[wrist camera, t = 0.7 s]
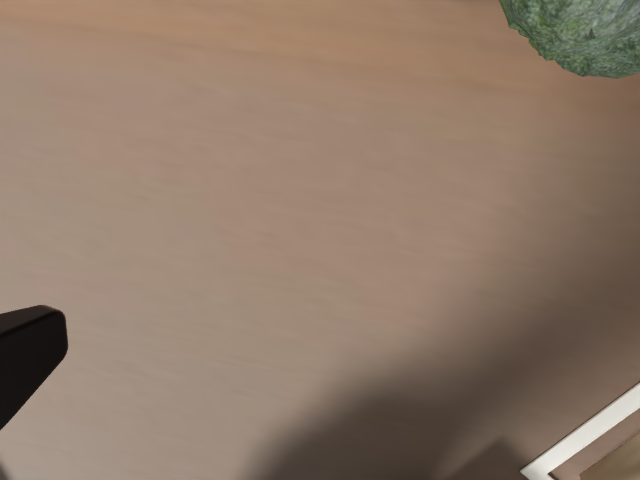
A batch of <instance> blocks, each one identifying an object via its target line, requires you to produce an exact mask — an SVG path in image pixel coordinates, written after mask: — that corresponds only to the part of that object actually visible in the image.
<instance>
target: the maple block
mask: <svg viewBox="0 0 640 480" xmlns="http://www.w3.org/2000/svg"><path fill="white" fill-rule="evenodd" d="M580 478H581V480H640V433H639V434H637V435H636V436H635V437H633V438H632V439H630V440H629V441H627V442H626V443H624V444H623V445H622V446H620V447H619V448H617V449H616V450H614V451H613V452H611V453H610V454H609V455H607V456H606V457H604V458H603V459H601V460H600V461H598V462H597V463H596V464H594V465H593V466H591V467H590V468H588V469H587V470H585V471H584V472H582V473H581V474H580Z"/></svg>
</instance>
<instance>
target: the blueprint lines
mask: <svg viewBox="0 0 640 480" xmlns="http://www.w3.org/2000/svg"><path fill="white" fill-rule="evenodd" d="M638 408H640V382H639V383H638V384H637V385H635V386H634V387H633V388H631V389H630V390H629V391H627V392H626V393H624V394H623V395H622V396H620V397H619V398H618V399H616V400H615V401H614V402H612V403H611V404H610V405H608V406H607V407H606V408H604V409H603V410H601V411H600V412H599V413H597V414H596V415H595V416H593V417H592V418H591V419H589V420H588V421H587V422H585V423H584V424H583V425H581V426H580V427H578V428H577V429H576V430H574V431H573V432H572V433H570V434H569V435H568V436H566V437H565V438H564V439H562V440H561V441H560V442H558V443H557V444H555V445H554V446H553V447H551V448H550V449H549V450H547V451H546V452H545V453H543V454H542V455H541V456H539V457H538V458H537V459H535V460H534V461H532V462H531V463H530V464H528V465H527V466H526V467H524V468H523V469H522V470H520V472H521V473H522V474H523V475H524V476H526V477H527V478H528V479H529V480H554V479H553V478H552V477H551V476H550V475H548V473H549V472H550V471H552V470H553V469H555V468H556V467H557V466H559V465H560V464H562V463H563V462H564V461H566V460H567V459H569V458H570V457H571V456H573V455H574V454H576V453H577V452H578V451H580V450H581V449H583V448H584V447H585V446H587V445H588V444H590V443H591V442H592V441H594V440H595V439H597V438H598V437H599V436H601V435H602V434H603V433H605V432H606V431H608V430H609V429H610V428H612V427H613V426H615V425H616V424H617V423H619V422H620V421H622V420H623V419H624V418H626V417H627V416H629V415H630V414H631V413H633V412H634V411H636V410H637V409H638Z"/></svg>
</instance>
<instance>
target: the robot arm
mask: <svg viewBox="0 0 640 480" xmlns="http://www.w3.org/2000/svg"><path fill="white" fill-rule="evenodd" d="M67 350H68V338H67V328H66V318H65V315H64V314H63V312H61V311H60V310H57V309H55V308H52V307H49V306H46V305H37V306H33V307H29V308H24V309H20V310H15V311H11V312H7V313H2V314H0V430H1V429H2V428H3V427H4V426H5V425H6V424H7V423H8V422H9V421H10V420H11V419H12V417H13V416H14V415H15V414H16V413H17V412H18V411H19V409H20V408H21V407H22V406H23V405H24V404H25V403H26V401H27V400H28V399H29V398H30V397H31V396H32V395H33V393H34V392H35V391H36V390H37V389H38V388H39V386H40V385H41V384H42V383H43V382H44V381H45V380H46V378H47V377H48V376H49V375H50V374H51V373H52V372H53V370H54V369H55V368H56V367H57V366H58V365H59V363H60V362H61V361H62V360H63V359H64V357H65V355H66V353H67Z"/></svg>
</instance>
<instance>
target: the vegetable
mask: <svg viewBox="0 0 640 480" xmlns="http://www.w3.org/2000/svg"><path fill="white" fill-rule="evenodd" d="M499 2H500V4H501V6H502V9H503V11H504V13H505V15H506V18H507V21H508V25H509V28H512V29H516V30H518V31H519V34H520V35H522V36H524V37H527V38H529V44H531V45H532V46H533V47H534V48H535V49H536V50H537V51H538V53H539V55H540V56H543V57H544V59H545V60H555V61H556V62H557V63H558V64H559V65H560V66H561V67H562V68H563V69H566V70H568V71H570V72H573V73H575V74H577V75H580V76H582V77H584V76H588V75H591V76H598V77H609V78H621V77H625V76H629V75H633V74H635V73H638V72H640V0H499Z"/></svg>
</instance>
